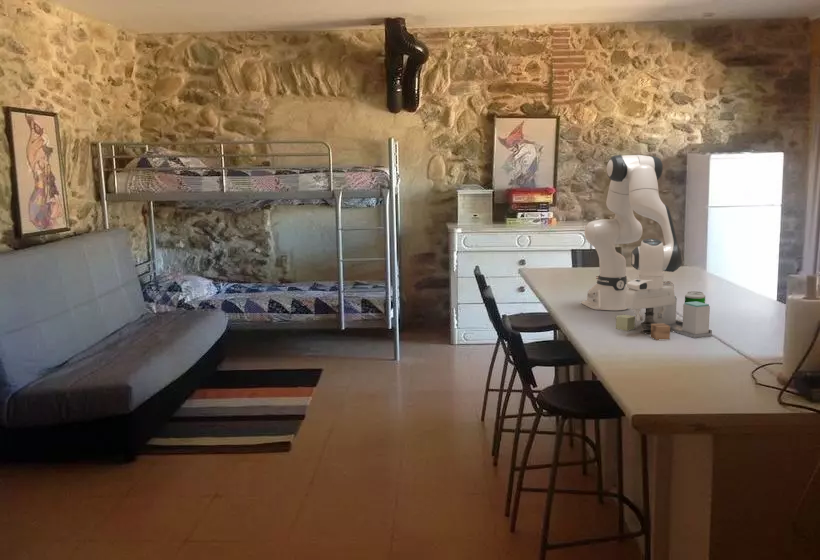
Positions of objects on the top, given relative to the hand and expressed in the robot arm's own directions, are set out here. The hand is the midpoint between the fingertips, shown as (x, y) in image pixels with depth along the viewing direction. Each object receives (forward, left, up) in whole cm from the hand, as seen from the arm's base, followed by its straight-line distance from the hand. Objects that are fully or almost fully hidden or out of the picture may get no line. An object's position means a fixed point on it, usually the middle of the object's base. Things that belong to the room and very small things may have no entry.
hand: (649, 319), depth 283 cm
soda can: (-7, +27, -5) cm, 28 cm away
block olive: (-9, -4, -5) cm, 11 cm away
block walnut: (+9, -2, -5) cm, 10 cm away
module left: (-8, +13, -4) cm, 16 cm away
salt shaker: (0, 0, -5) cm, 5 cm away
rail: (+1, +13, -5) cm, 14 cm away
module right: (+10, +13, -4) cm, 17 cm away
